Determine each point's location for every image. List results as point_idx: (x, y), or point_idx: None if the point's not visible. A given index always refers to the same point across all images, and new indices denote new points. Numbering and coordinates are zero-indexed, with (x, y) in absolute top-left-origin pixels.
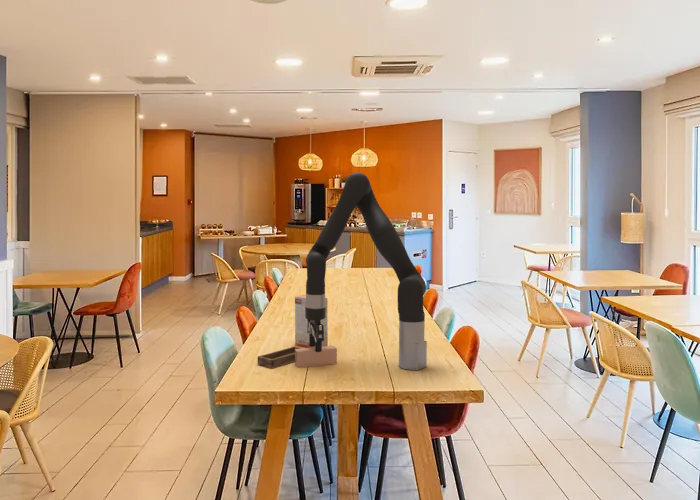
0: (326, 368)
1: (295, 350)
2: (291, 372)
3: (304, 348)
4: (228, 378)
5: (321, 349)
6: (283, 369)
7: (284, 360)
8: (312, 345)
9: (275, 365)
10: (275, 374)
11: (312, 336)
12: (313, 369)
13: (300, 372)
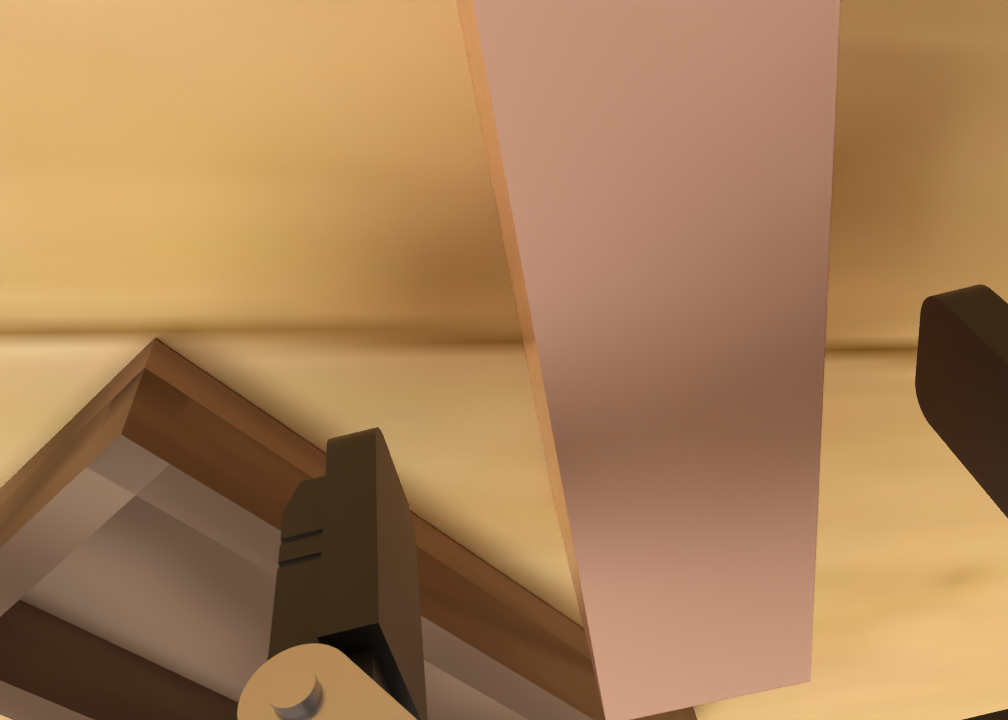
0: (948, 38)
1: (663, 699)
2: (922, 524)
3: (612, 601)
4: None
5: (1003, 304)
6: None
7: (577, 668)
8: (396, 482)
9: None
10: (922, 653)
11: (384, 684)
12: (910, 266)
13: None
